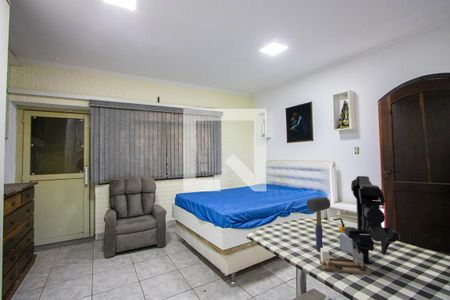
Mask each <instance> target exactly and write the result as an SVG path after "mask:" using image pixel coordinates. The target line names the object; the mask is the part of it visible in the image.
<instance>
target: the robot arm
mask: <svg viewBox="0 0 450 300" xmlns="http://www.w3.org/2000/svg"><path fill="white" fill-rule="evenodd" d="M350 190H351V192H352V195H353V197H354V198H355V200H356V202H355V203H356V222H357V223H356V224H357V225H356V227H354V226H353V227H352V226H345V227H346V228H345V229H344V233H345V234H346V235H347V236H348V237H349V238H351V239H352V245H353V248H356V250H357V251H358V253H359V254H360V252H361V253H362V254H363V263H364V264H373V262H372V260H371V259H370V251H371V252H374V251H373V250H374V249H375V248H374V246H375V242H380V248H381V250H380V251H381V254H382V255H383V256H385V255H386V253H387V251H388V249H389V247H390V245H391V244H393V243H396V242H397V241H400V240H401V236H400V233H399V232H398V231H395V230H394V229H393V228H391V227H383V225H382V224H383V223H384V222H385V221H386V220H385V219H386V216H385V213H384V212H383V211H382V210H381V207H380V206H385V203H386V199H385V195H384V192H383V191H382V189H381V188H380V186H378V185H374V184H372V182H371V180H370V177H369V176H367V175H366V176H365V175H358V176H356V177H355V179H353V180H352V181H351V184H350Z"/></svg>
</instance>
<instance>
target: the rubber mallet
mask: <svg viewBox="0 0 450 300" xmlns="http://www.w3.org/2000/svg"><path fill="white" fill-rule="evenodd" d="M306 207H307V210H309V211H310V212H315V213H316V215H315V216H316V217H315V218H316V221H315V222H316V224H315V233H314V234H315V249H316V251H317V252H321V249H320V248H324V245H323V236H324V235H323V234H324V233H323V226H322V211H325V210H328V209H329V208H330V207H331V201H330V199H329V198H328V197H326V196H319V197H313V198H309V199H307V200H306Z"/></svg>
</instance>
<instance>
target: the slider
mask: <svg viewBox="0 0 450 300" xmlns="http://www.w3.org/2000/svg"><path fill="white" fill-rule="evenodd" d="M320 249H321V251H320V257H321V261H322V263H327V266H328V263H329V258H330V251H329V250H328V248H326V247H323V248H320Z"/></svg>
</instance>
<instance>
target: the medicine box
mask: <svg viewBox="0 0 450 300" xmlns="http://www.w3.org/2000/svg"><path fill="white" fill-rule="evenodd" d="M339 249H340V250H342V251H343V252H346V253H349V254H351V255H353V250H356V248H353V245H352V239H351V238H349V237H348V236H347V235H346V234H345V233H342V232H341V233H340V234H339Z"/></svg>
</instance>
